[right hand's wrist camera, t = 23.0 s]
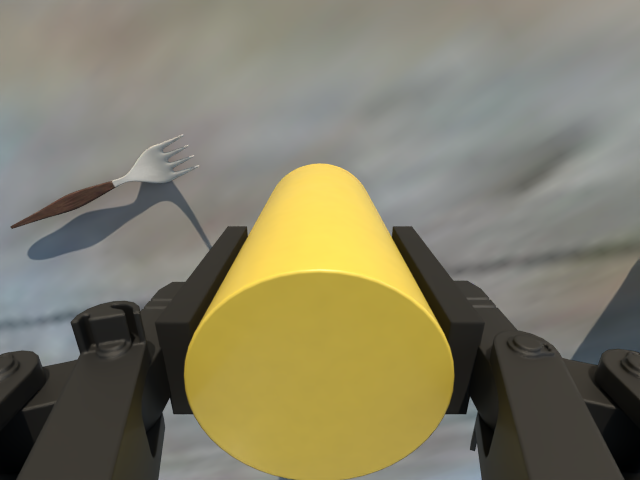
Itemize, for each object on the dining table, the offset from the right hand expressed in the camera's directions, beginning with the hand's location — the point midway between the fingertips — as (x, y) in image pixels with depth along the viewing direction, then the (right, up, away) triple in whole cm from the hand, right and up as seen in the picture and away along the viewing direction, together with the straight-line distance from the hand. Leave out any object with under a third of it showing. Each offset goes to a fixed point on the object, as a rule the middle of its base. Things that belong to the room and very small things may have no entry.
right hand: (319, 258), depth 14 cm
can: (0, +2, +5) cm, 6 cm away
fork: (-16, +5, +12) cm, 20 cm away
